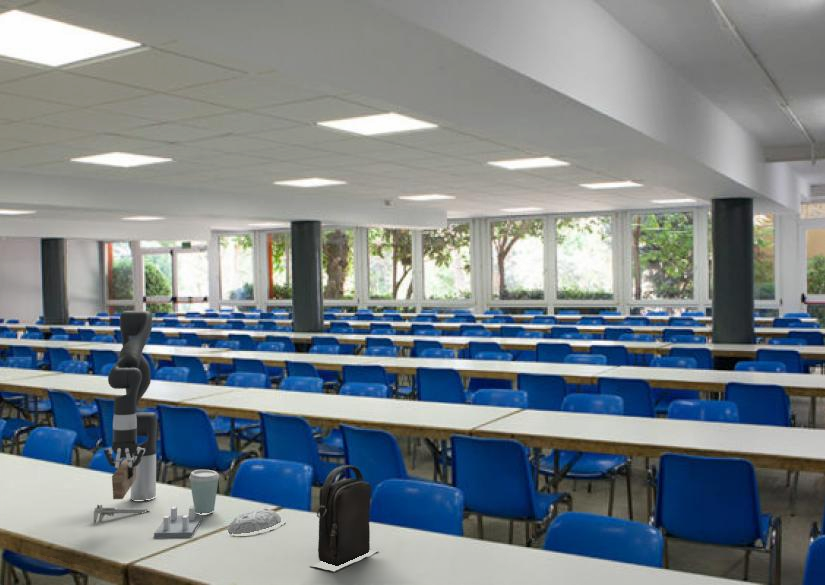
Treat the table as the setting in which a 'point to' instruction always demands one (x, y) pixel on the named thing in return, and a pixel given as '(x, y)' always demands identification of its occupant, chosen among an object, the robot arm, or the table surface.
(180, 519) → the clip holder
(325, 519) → the shoulder bag
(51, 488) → the table surface
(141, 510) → the caliper
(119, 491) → the cabinet door
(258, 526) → the oval brooch
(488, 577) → the table surface
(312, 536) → the table surface
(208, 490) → the disposable coffee cup
